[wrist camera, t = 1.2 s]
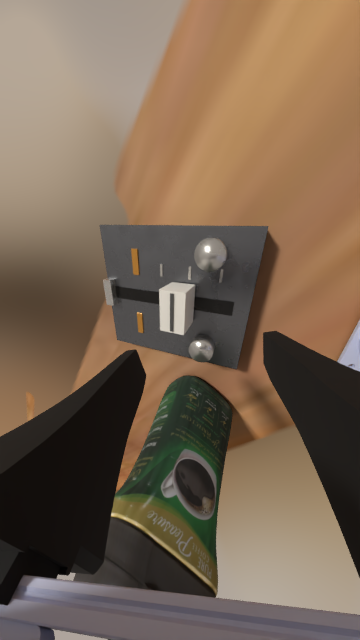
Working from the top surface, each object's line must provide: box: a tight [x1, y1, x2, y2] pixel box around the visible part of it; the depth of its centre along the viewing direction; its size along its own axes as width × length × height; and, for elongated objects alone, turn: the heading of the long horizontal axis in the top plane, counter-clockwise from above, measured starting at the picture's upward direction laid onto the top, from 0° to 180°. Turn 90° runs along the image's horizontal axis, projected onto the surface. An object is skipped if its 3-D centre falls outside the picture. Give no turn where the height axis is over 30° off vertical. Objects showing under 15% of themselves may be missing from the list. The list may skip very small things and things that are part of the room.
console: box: [100, 225, 268, 369], centre depth 19 cm, size 16×14×3 cm
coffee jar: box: [73, 376, 232, 640], centre depth 18 cm, size 10×8×19 cm
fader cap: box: [159, 282, 195, 335], centre depth 16 cm, size 2×4×3 cm, turn 177°
